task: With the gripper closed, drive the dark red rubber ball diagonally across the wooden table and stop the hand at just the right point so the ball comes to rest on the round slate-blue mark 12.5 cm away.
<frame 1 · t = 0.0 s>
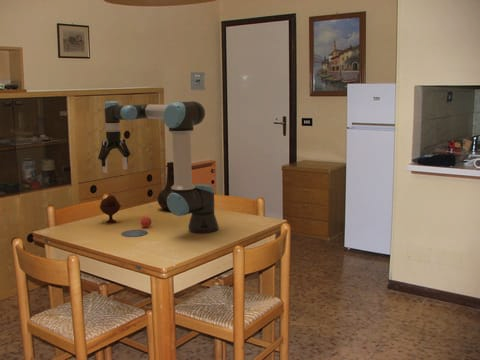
hand: (115, 170, 303), 28 cm above the table, tool pointing down, fingers open, 13 cm apart
ball: (145, 222, 295), on the table
ice cream bowl: (111, 222, 307), on the table
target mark: (134, 233, 284), on the table
dark brown vase: (173, 209, 335), on the table
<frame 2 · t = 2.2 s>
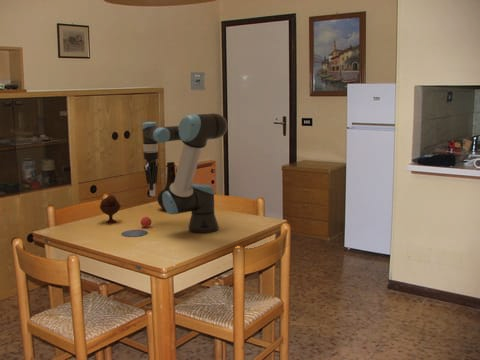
hand: (152, 195, 302), 15 cm above the table, tool pointing down, fingers closed
nothing on the table moved.
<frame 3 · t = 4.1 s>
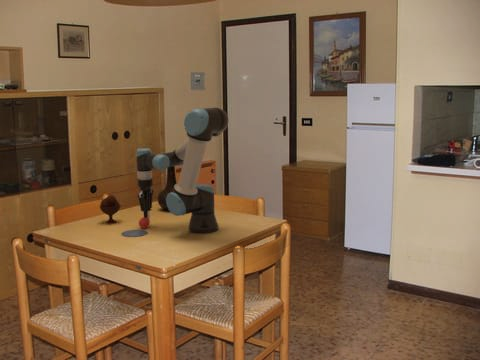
hand: (147, 223, 297), 2 cm above the table, tool pointing down, fingers closed
ball: (144, 222, 293), on the table, touching gripper
everything else where it was.
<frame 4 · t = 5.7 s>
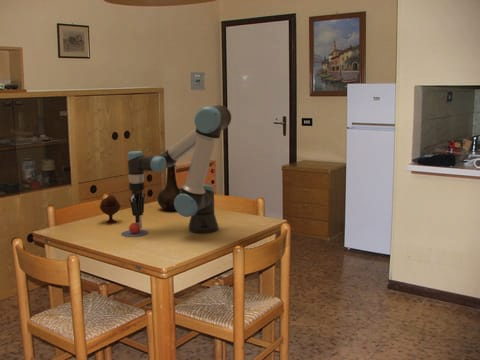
hand: (138, 228, 287), 2 cm above the table, tool pointing down, fingers closed
ball: (134, 228, 283), on the table
everything else where it was.
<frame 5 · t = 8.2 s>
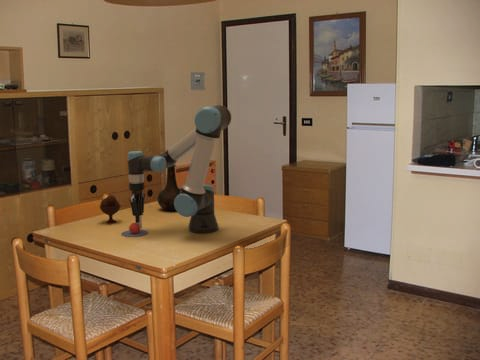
hand: (138, 228, 287), 2 cm above the table, tool pointing down, fingers closed
nothing on the table moved.
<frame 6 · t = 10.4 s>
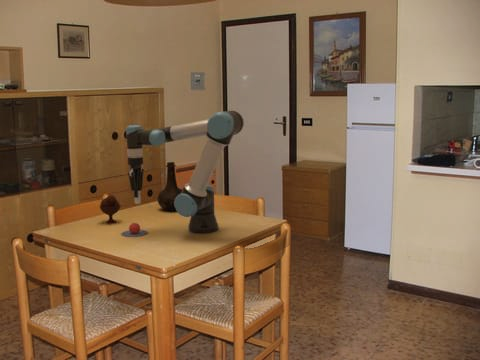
hand: (137, 203, 285), 14 cm above the table, tool pointing down, fingers closed
nothing on the table moved.
at the end: ball 0.5 cm from the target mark (horizontally); ball at rest at the end (0.0 cm/s); ball moved 12.9 cm from its start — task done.
